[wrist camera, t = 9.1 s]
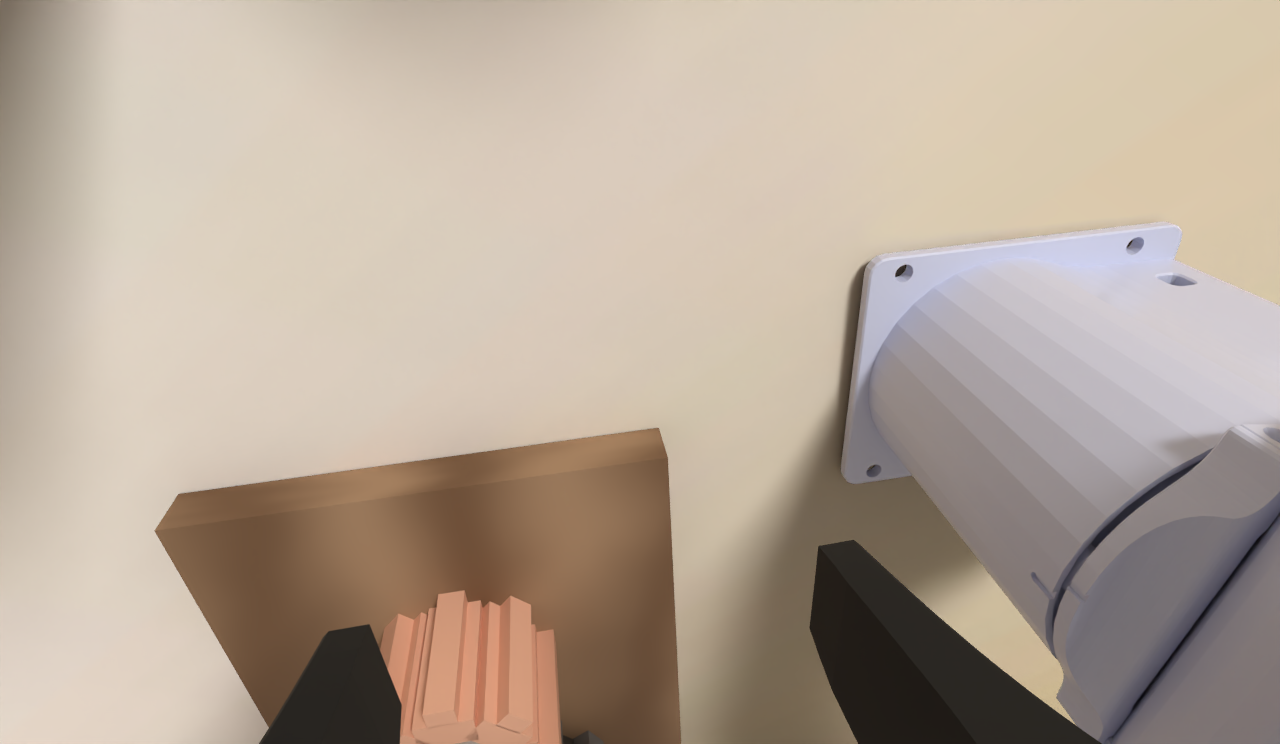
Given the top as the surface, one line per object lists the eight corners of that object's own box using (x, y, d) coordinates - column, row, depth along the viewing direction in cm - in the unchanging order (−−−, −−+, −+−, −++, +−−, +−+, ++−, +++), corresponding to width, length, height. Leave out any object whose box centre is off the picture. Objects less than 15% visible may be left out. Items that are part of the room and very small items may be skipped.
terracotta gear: (543, 577, 21) (548, 693, 18) (564, 689, 24) (571, 806, 21) (356, 607, 21) (324, 732, 17) (401, 718, 24) (381, 844, 20)
